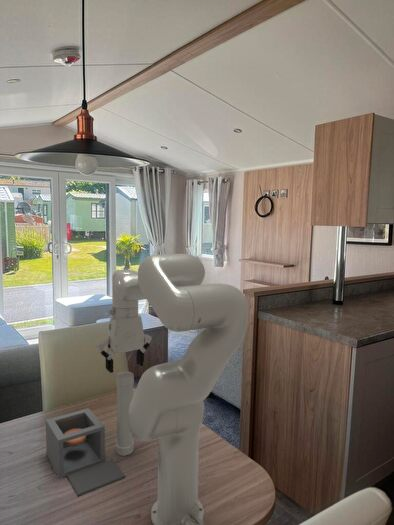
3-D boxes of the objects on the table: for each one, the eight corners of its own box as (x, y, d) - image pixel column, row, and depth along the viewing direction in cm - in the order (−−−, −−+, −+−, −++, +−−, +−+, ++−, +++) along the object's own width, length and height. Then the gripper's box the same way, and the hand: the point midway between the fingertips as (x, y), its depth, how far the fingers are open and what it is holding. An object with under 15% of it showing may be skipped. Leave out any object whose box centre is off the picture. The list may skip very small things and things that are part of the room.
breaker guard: (104, 462, 111) (104, 426, 110) (59, 478, 104) (58, 440, 103) (89, 441, 122) (88, 408, 121) (46, 454, 114) (45, 419, 113)
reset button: (89, 445, 112) (89, 435, 111) (67, 453, 108) (67, 442, 108) (82, 435, 117) (82, 426, 116) (60, 442, 113) (60, 432, 113)
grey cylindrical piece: (111, 453, 116) (111, 356, 113) (124, 442, 121) (124, 350, 118) (126, 458, 113) (126, 360, 110) (139, 447, 119) (139, 353, 116)
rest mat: (125, 477, 105) (125, 475, 105) (77, 496, 97) (77, 494, 97) (112, 460, 112) (112, 458, 112) (67, 477, 105) (67, 475, 104)
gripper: (102, 318, 105) (102, 378, 107) (157, 311, 115) (156, 366, 117) (92, 312, 111) (92, 369, 113) (145, 306, 121) (145, 358, 123)
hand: (125, 367), depth 115 cm, fingers open, 9 cm apart
